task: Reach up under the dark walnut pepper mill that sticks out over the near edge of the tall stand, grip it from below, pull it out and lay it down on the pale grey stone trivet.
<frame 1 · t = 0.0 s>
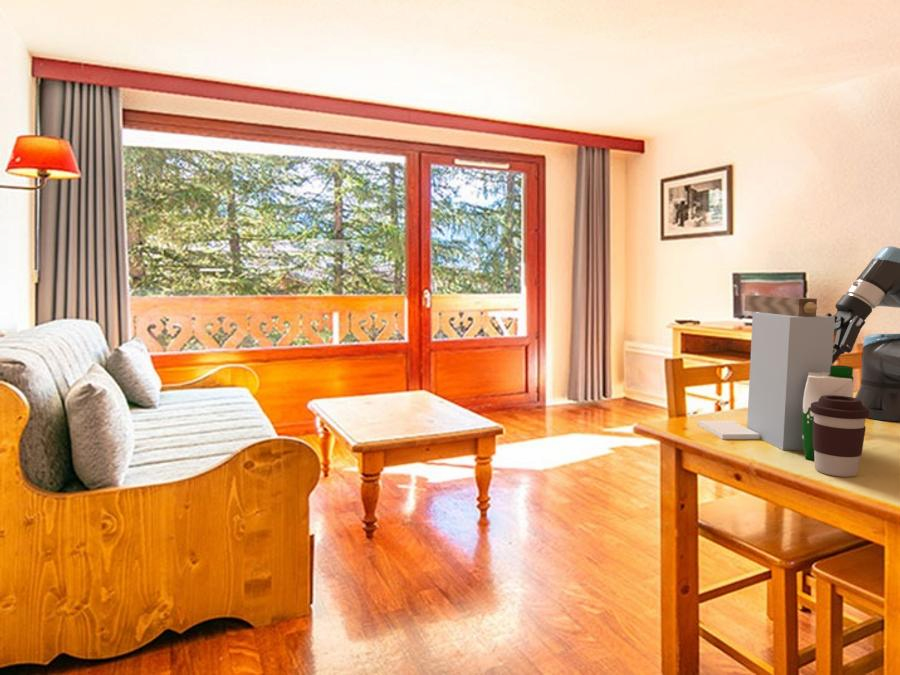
hand: (804, 368, 158), 15 cm above the table, tool tilted 35°, fingers open, 13 cm apart
pepper mill: (777, 313, 148), point 30 cm above the table, touching stand
stand: (784, 440, 145), on the table
coffee cup: (835, 472, 122), on the table
trivet: (727, 431, 154), on the table
milk carton: (823, 458, 132), on the table
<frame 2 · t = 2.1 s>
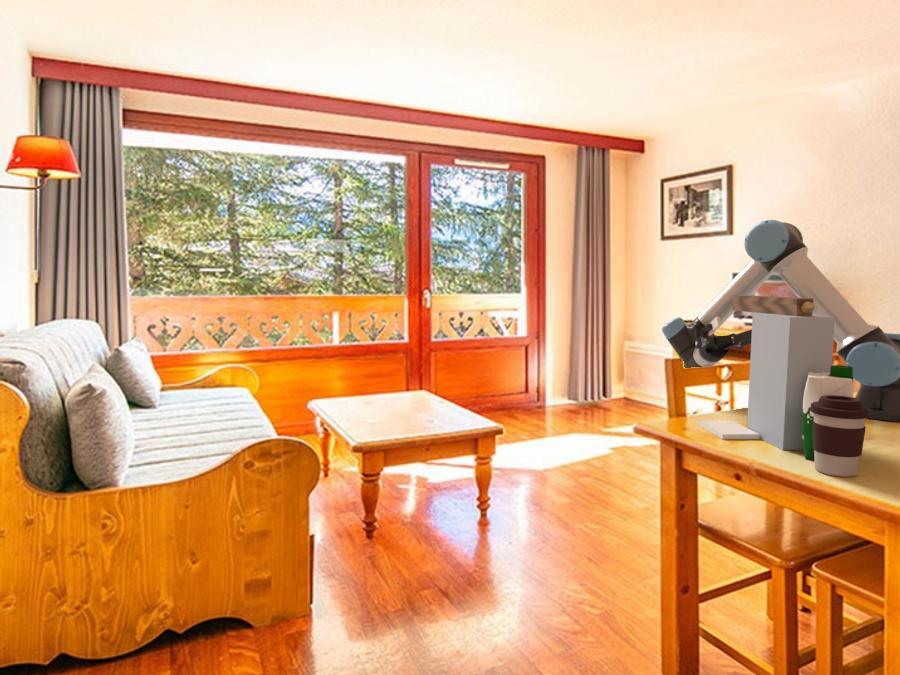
hand: (743, 320, 165), 27 cm above the table, tool pointing upward, fingers open, 13 cm apart
pepper mill: (769, 313, 149), point 30 cm above the table, touching stand
everything else where it was.
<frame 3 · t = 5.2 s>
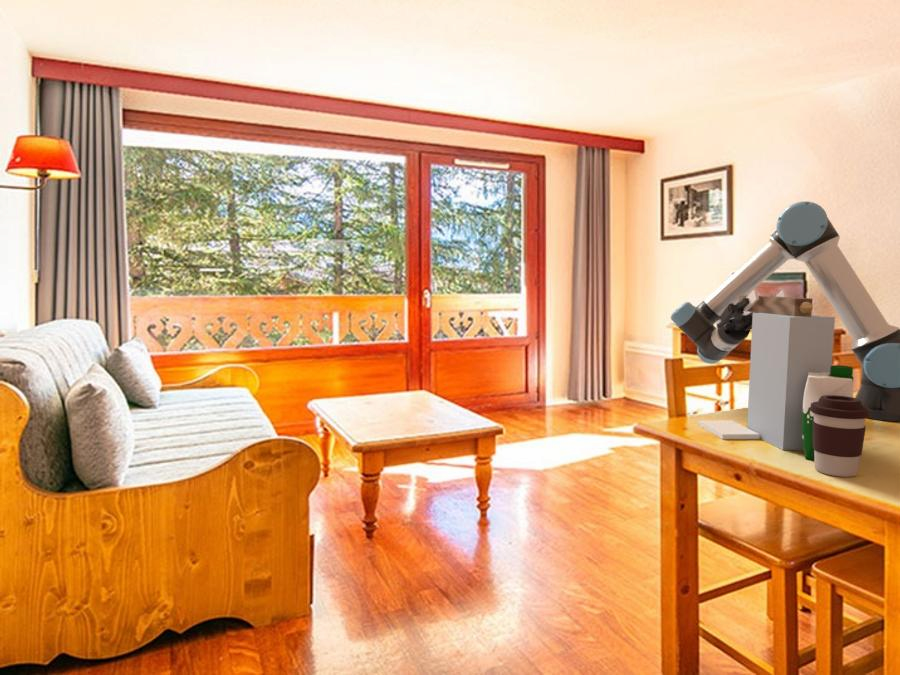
hand: (771, 294, 151), 35 cm above the table, tool pointing upward, fingers open, 6 cm apart
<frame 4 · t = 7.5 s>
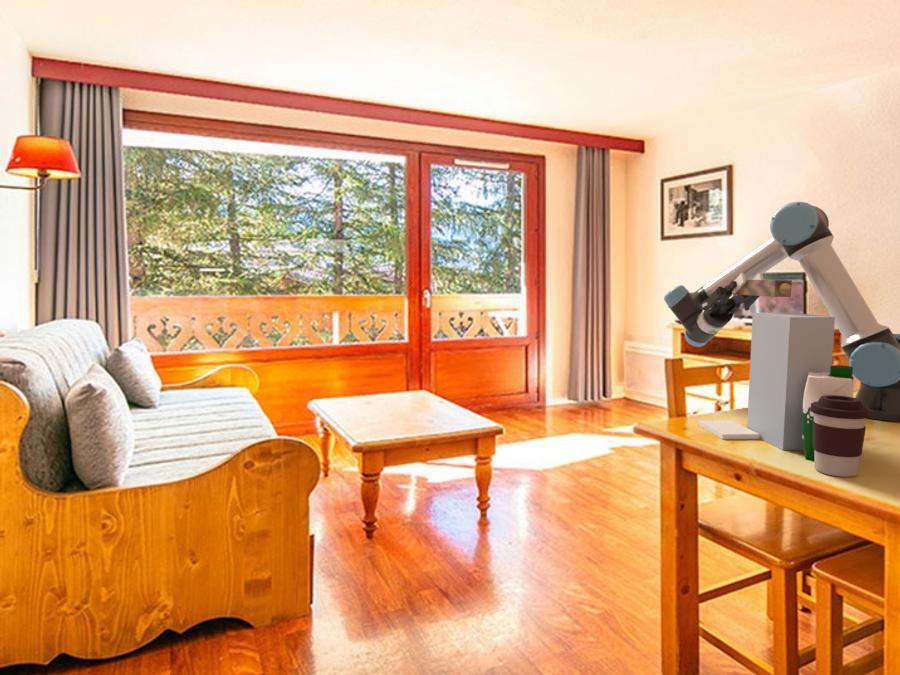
hand: (752, 277, 160), 39 cm above the table, tool pointing upward, fingers closed on pepper mill, 4 cm apart
pepper mill: (756, 295, 158), point 34 cm above the table, touching gripper
everything else where it was.
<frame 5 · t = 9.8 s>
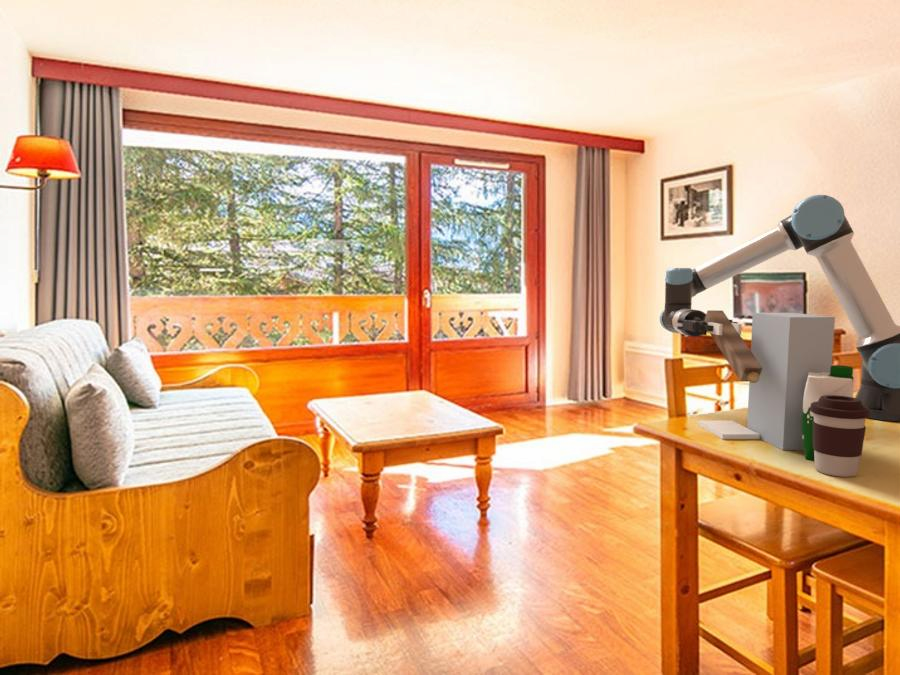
hand: (730, 329, 151), 26 cm above the table, tool horizontal, fingers closed on pepper mill, 4 cm apart
pepper mill: (728, 350, 151), point 21 cm above the table, tilted 30°, touching gripper
everything else where it was.
when the fingers open (14 cm above the table, at t = 12.3 s): pepper mill drops 8 cm, resting on trivet.
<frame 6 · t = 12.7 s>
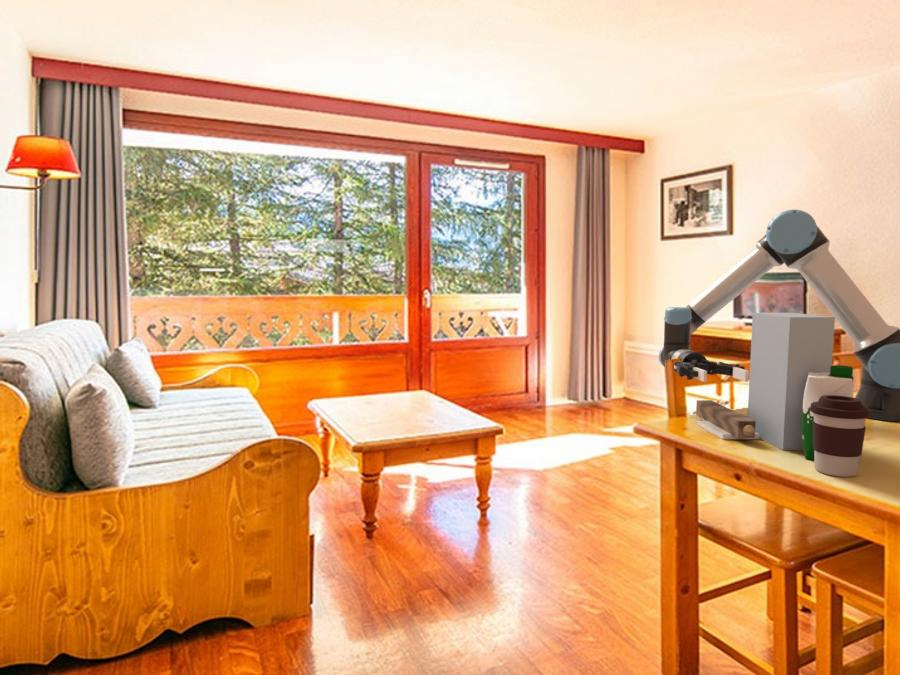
hand: (726, 376, 153), 14 cm above the table, tool horizontal, fingers open, 10 cm apart
pepper mill: (723, 425, 155), point 1 cm above the table, touching trivet
everything else where it was.
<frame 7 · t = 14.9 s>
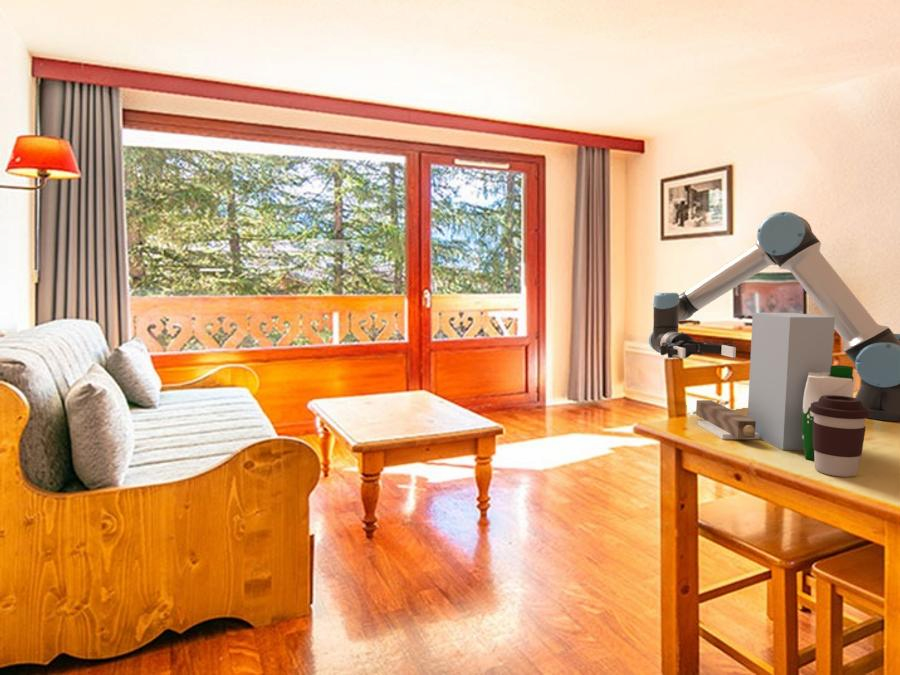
hand: (709, 353, 163), 19 cm above the table, tool horizontal, fingers open, 13 cm apart
nothing on the table moved.
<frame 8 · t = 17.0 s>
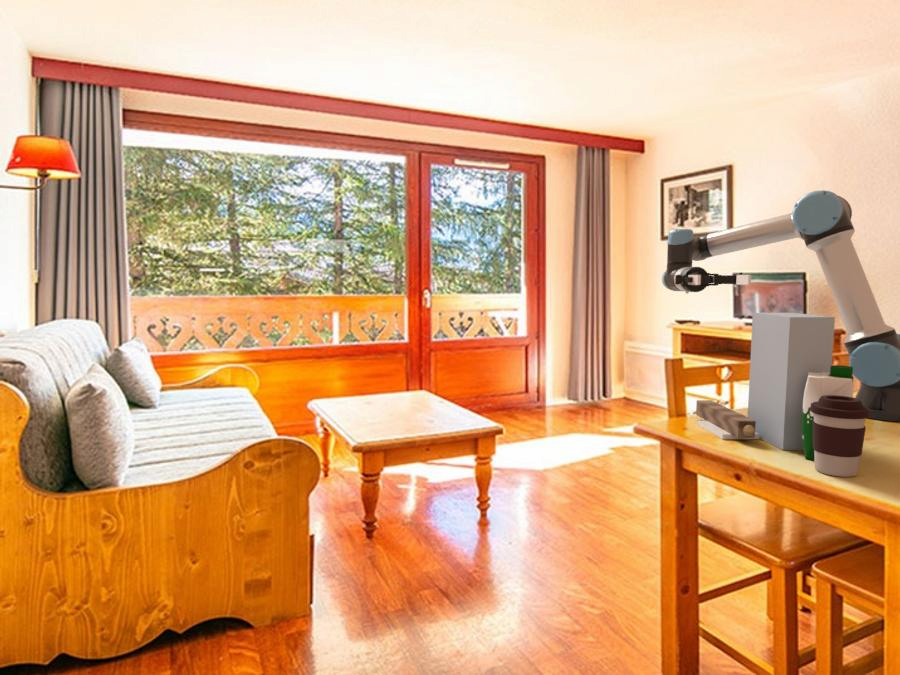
hand: (724, 279, 163), 38 cm above the table, tool horizontal, fingers open, 13 cm apart
nothing on the table moved.
at the end: pepper mill inside the target area on the trivet (1.8 cm from its centre), point 1.2 cm above the trivet's base; the gripper is holding nothing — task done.
